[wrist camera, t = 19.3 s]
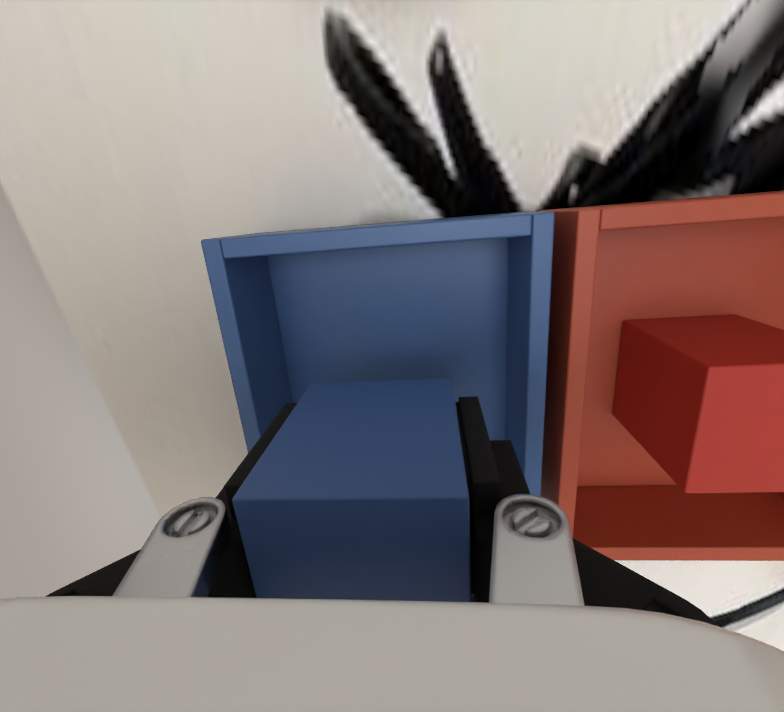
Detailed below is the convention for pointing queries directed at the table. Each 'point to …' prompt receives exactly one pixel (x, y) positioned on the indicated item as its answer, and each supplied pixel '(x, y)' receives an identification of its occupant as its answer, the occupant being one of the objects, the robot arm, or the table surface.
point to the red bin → (600, 362)
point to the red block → (705, 400)
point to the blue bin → (393, 315)
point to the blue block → (361, 497)
